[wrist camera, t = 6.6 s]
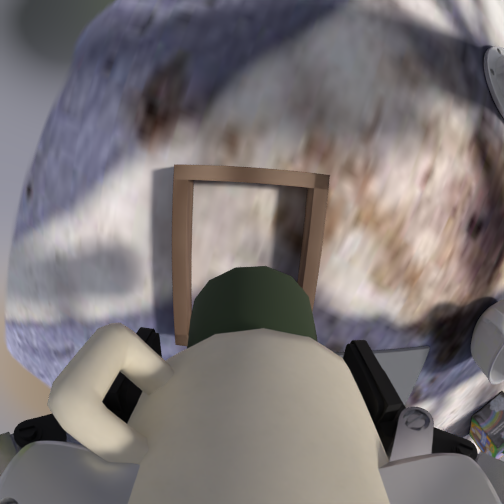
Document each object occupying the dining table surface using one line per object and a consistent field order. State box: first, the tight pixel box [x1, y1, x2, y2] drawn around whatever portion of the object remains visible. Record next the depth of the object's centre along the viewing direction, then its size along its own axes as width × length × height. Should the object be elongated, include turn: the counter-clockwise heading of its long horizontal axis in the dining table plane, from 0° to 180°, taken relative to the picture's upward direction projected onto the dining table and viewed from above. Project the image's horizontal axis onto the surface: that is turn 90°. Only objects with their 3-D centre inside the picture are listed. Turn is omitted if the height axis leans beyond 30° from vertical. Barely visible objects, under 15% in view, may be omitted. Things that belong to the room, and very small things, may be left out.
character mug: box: [47, 266, 390, 504], centre depth 9 cm, size 11×7×13 cm, turn 40°
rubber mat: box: [334, 346, 430, 405], centre depth 31 cm, size 17×18×1 cm
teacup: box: [471, 300, 504, 384], centre depth 25 cm, size 14×11×8 cm
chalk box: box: [469, 391, 504, 459], centre depth 29 cm, size 9×9×15 cm
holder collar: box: [172, 165, 330, 346], centre depth 25 cm, size 12×16×2 cm
